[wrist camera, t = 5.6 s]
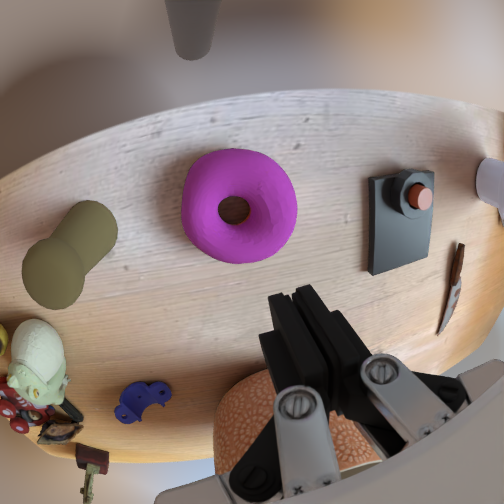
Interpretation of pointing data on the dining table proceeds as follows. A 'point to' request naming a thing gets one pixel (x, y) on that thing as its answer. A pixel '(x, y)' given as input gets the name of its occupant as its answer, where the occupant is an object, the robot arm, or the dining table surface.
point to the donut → (249, 188)
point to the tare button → (420, 197)
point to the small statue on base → (91, 467)
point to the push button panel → (397, 221)
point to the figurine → (38, 363)
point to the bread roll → (58, 432)
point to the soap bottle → (491, 183)
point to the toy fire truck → (21, 409)
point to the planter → (257, 416)
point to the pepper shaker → (69, 255)
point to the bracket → (140, 400)
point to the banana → (3, 340)
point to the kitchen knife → (453, 286)
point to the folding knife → (71, 411)
